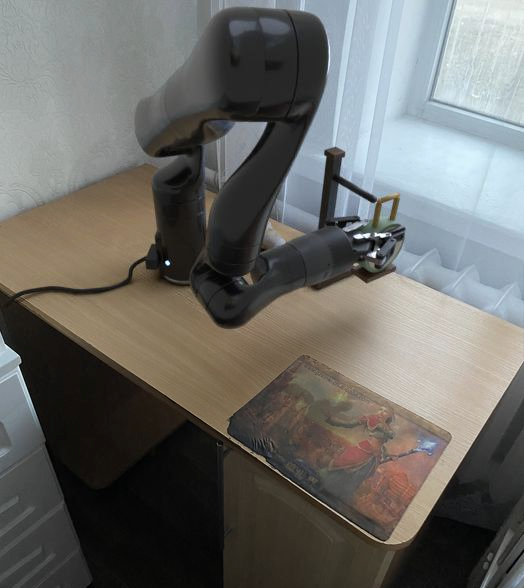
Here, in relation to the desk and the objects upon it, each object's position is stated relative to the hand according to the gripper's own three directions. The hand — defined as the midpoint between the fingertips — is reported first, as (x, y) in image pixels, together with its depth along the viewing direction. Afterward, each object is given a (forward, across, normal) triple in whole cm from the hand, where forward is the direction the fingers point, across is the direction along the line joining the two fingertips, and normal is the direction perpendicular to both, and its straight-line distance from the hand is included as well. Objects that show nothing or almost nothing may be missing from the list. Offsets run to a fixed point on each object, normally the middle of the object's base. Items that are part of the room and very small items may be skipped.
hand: (394, 226), depth 89 cm
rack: (-1, +12, +17) cm, 21 cm away
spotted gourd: (-6, +28, +17) cm, 33 cm away
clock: (-3, 0, +8) cm, 8 cm away
